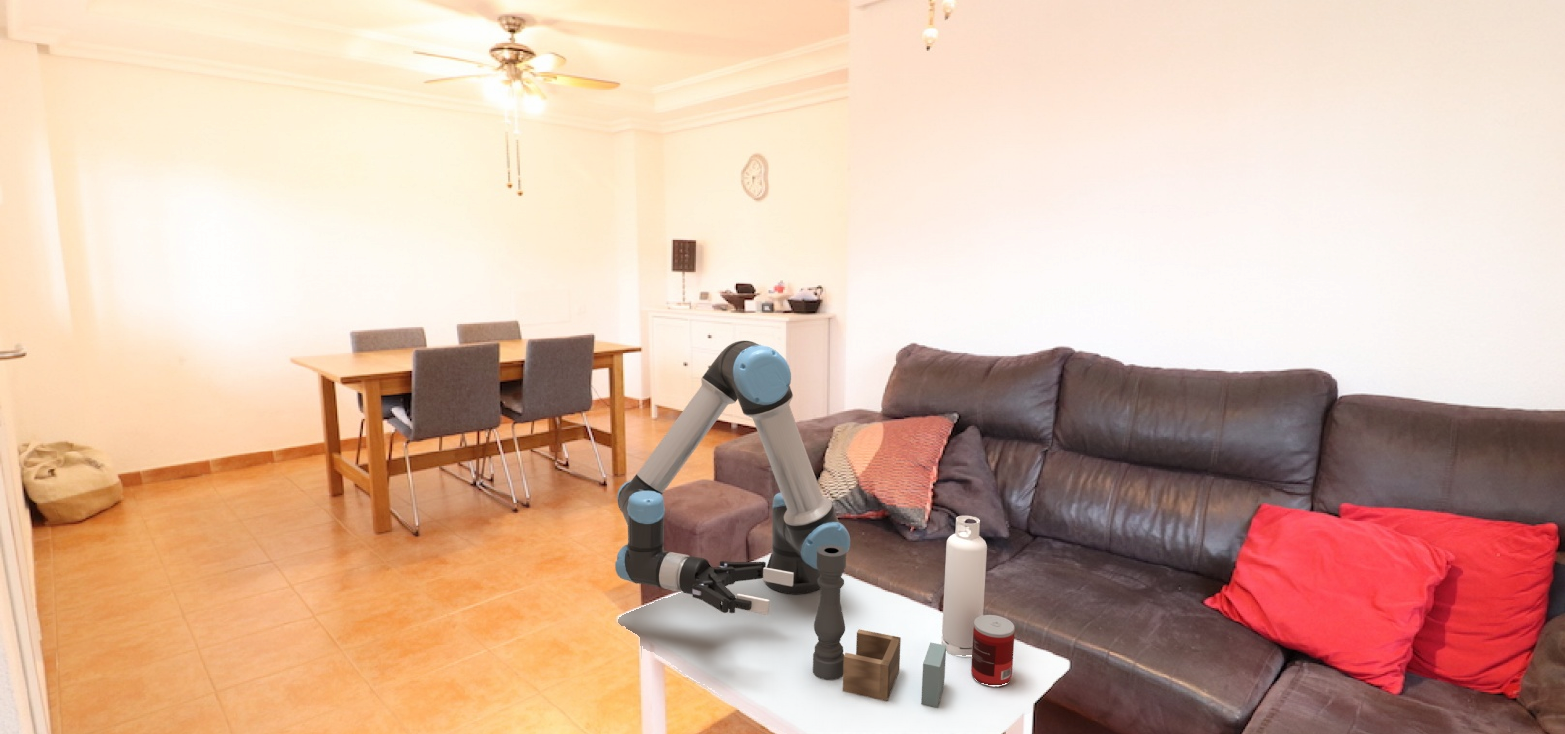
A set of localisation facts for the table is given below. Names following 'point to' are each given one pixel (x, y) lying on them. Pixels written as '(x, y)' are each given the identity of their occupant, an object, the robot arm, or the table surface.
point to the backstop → (933, 675)
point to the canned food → (992, 649)
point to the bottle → (963, 586)
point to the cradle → (872, 665)
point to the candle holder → (829, 613)
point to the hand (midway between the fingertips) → (781, 592)
